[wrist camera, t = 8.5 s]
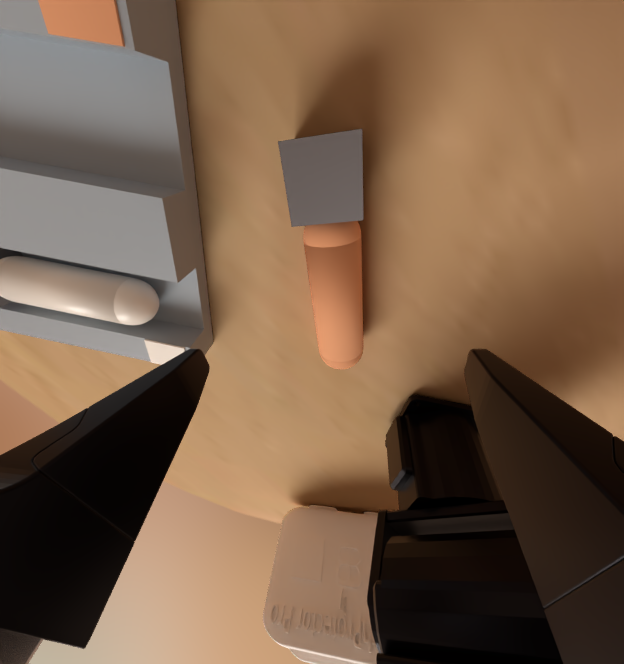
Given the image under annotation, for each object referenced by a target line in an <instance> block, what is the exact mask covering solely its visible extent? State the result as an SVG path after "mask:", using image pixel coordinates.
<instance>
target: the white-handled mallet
mask: <svg viewBox="0 0 624 664" xmlns="http://www.w3.org/2000/svg"><path fill="white" fill-rule="evenodd" d="M12 301H13V302H17V303H22V304H27V305H32V306H37V307H42V308H46V309H51V310H56V311H61V312H66V313H71V314H76V315H81V316H86V317H90V318H95V319H100V320H105V321H110V322H115V323H120V324H125V325H140V324H143V323H146V322H148V321H149V320H151V319H152V318H153V317H154V316H155V315H156V313H157V311H158V309H159V298H158V295H157V293H156V291H155V290H154V288H153V287H152V286H150V285H149V284H148V283H146V282H144V281H142V280H139V279H136V278H131V277H126V276H121V275H116V274H110V273H105V272H100V271H95V270H90V269H85V268H80V267H75V266H70V265H65V264H60V263H55V262H50V261H45V260H40V259H34V258H29V257H24V256H23V255H22V253H21V252H19V251H14V250H9V249H4V248H0V307H2V306H4V305H6V304H8V303H10V302H12Z"/></svg>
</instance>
